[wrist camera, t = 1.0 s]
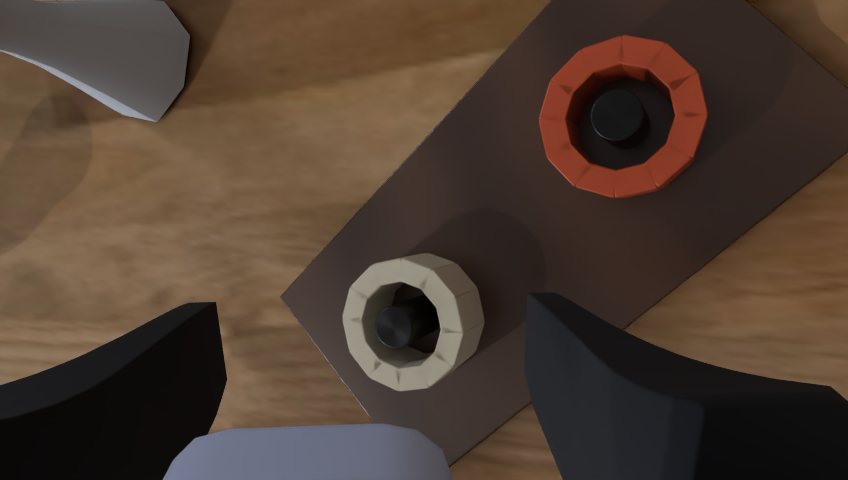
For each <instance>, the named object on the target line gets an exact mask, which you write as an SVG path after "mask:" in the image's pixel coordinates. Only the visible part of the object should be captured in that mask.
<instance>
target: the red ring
mask: <svg viewBox="0 0 848 480" xmlns="http://www.w3.org/2000/svg"><path fill="white" fill-rule="evenodd" d="M628 78H629V79H633V80H638V81H643V82H648V83H653V84H654V85H655V86H656V87H657V88H658V89H659V90H660V91H661V92H663V93H664V94H665V95H666V96H667V97H668V98H669V99H670V100H671V102H672V107H673V111H674V115H675V118H674V121H673V124H672V127H671V130H670V132H669V135H668V138H667V141H666V144H664V145H663V146H662V147H661V148H660V149H659V150H658V151H657V152H656V153H654V154H653V155H652V156H651V157H650V158H649V159H648V160H647V161H646V162H644V163H642V164H638V165H634V166H630V167H626V168H622V169H618V170H615V169H611V168H607V167H604V166H600V165H598V164H597V163H596V162H595V161H594V160H593V159H592V158H591V157H590V156H589V155H588V154H587V153H586V152H585V151H584V150H583V145H582V141H581V137H580V132H579V128H578V126H579V123H580V120H581V117H582V114H583V110H584V107H585V104H586V103H587V102H588V101H589V100H590V99H591V98H592V97H593V96H594V95H595V94H596V93H597V92H598V91H599V90H600V89H601V88H602V87H603V86H605V85H608V84H611V83H615V82H618V81H621V80H624V79H628ZM707 118H708V110H707V106H706V102H705V98H704V93H703V89H702V85H701V81H700V76H699V73H697V70H696V69H695V68H694V67H693V66H692V65H691V64H690V63H688V62H687V61H686V60H685V59H684V58H683V57H682V56H681V55H680V54H679V53H678V52H676V51H675V50H674V49H673V48H672V47H671V46H670V45H669V44H668V43H666V44H665V42H662V41H657V40H651V39H646V38H640V37H635V36H629V35H623V36H617V37H614V38H611V39H608V40H605V41H602V42H600V43H597V44H594V45H591V46H588V47H585V48H583V49H582V50H579V51H578V52H577V53H576V54H575V55H574V56H573V57H572V58H571V59H570V60H569V61H568V62H567V63H566V64H565V65H564V66H563V67H562V68H561V69H560V70H559V71H558V72H557V73H556V75H555V76H554V77H553V78H552V79H551V81H550V82H549V86H548V89H547V92H546V96H545V99H544V102H543V106H542V109H541V112H540V116H539V119H540V120H539V125H540V130H541V134H542V139H543V143H544V147H545V152H546V156H547V158H548V160H549V161H550V162H551V163H552V164H553V165H554V166H555V167H556V168H557V169H558V171H559V172H560V173H561V174H562V175H563V176H564V177H565V178H566V179H567V180H568V181H569V182H570V183H571V184H572V185H573V186H576V187H577V188H579V189H583V190H586V191H590V192H593V193H597V194H600V195H604V196H607V197H611V198H629V197H633V196H637V195H642V194H646V193H651V192H655V191H659V190H660V189H663V188H664V187H666V186H667V185H668V184H669V183H670V182H671V181H672V180H674V179H675V178H676V177H677V176H678V175H679V174H681V173H682V172H683V171H684V170H685V169H686V168H687V167H689V166H690V165H691V163H692V162H693V161H694V158H695V155H696V153H697V150H698V147H699V144H700V141H701V138H702V135H703V133H704V130H705V127H706V123H707Z"/></svg>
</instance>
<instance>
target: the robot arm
mask: <svg viewBox="0 0 848 480" xmlns="http://www.w3.org/2000/svg"><path fill="white" fill-rule="evenodd" d="M524 371H525V376H526V380H527V384H528V389H529V393H530V397H531V401H532V404H533V407H534V410H535V412H536V415H537V417H538V420H539V422H540V425H541V427H542V430H543V432H544V435H545V437H546V439H547V442H548V444H549V447H550V449H551V452H552V454H553V456H554V459H555V461H556V464H557V466H558V469H559V471H560V474H561V476H562V478H563V480H848V401H847V400H846V399H845V398H843V397H842V396H841V395H840V394H839V393H838V392H836V391H835V390H834V389H833V388H832V387H830V386H824V385H816V384H809V383H801V382H794V381H786V380H779V379H772V378H767V377H762V376H757V375H752V374H747V373H742V372H738V371H734V370H729V369H725V368H721V367H717V366H714V365H711V364H707V363H704V362H700V361H697V360H694V359H690V358H687V357H684V356H681V355H679V354H676V353H673V352H671V351H668V350H666V349H663V348H660V347H658V346H655V345H653V344H650V343H648V342H646V341H644V340H641V339H639V338H637V337H635V336H633V335H631V334H629V333H627V332H625V331H623V330H621V329H619V328H617V327H615V326H614V325H612V324H610V323H608V322H606V321H605V320H603V319H601V318H599V317H598V316H596V315H594V314H592V313H591V312H589V311H587V310H586V309H584V308H582V307H581V306H579V305H577V304H576V303H574V302H572V301H571V300H569V299H567V298H565V297H563V296H562V295H560V294H557V293H555V292H541V293H528V300H527V320H526V340H525V361H524ZM226 382H227V375H226V368H225V362H224V355H223V348H222V341H221V334H220V327H219V320H218V313H217V306H216V302H201V303H187V304H184V305H182V306H179V307H177V308H175V309H173V310H171V311H169V312H167V313H165V314H163V315H161V316H159V317H157V318H155V319H153V320H151V321H149V322H148V323H146V324H144V325H142V326H140V327H138V328H136V329H134V330H132V331H131V332H129V333H127V334H125V335H123V336H121V337H119V338H117V339H115V340H113V341H111V342H109V343H107V344H105V345H103V346H100V347H98V348H96V349H94V350H92V351H90V352H88V353H86V354H84V355H82V356H79V357H77V358H75V359H72V360H70V361H68V362H65V363H63V364H60V365H58V366H55V367H53V368H50V369H48V370H45V371H42V372H40V373H37V374H34V375H31V376H28V377H25V378H22V379H19V380H16V381H13V382H9V383H6V384H3V385H0V480H452V476H451V473H450V470H449V467H448V464H447V461H446V458H445V455H444V452H443V450H442V449H441V448H440V447H439V446H437V445H436V444H435V443H434V442H432V441H431V440H430V439H428V438H427V437H426V436H425V435H423V434H422V433H421V432H420V431H418V430H416V429H410V428H405V427H399V426H394V425H389V424H383V423H379V424H351V425H324V426H296V427H268V428H241V429H227V430H223V431H220V432H216V433H212V434H208V432H209V430H210V428H211V426H212V424H213V421H214V419H215V417H216V415H217V411H218V408H219V405H220V402H221V399H222V396H223V392H224V389H225V385H226ZM207 434H208V435H207Z"/></svg>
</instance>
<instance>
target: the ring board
mask: <svg viewBox="0 0 848 480" xmlns="http://www.w3.org/2000/svg"><path fill="white" fill-rule="evenodd" d="M623 35H629V36H635V37H640V38H646V39H651V40H657V41H662V42H665V44H666V43H668V44H669V45H670V46H671V47H672V48H673V49H674V50H675V51H676V52H678V53H679V54H680V55H681V56H682V57H683V58H684V59H685V60H686V61H687V62H688V63H690V64H691V65H692V66H693V67H694V68H695V69H696V70H697V73H699V76H700V81H701V85H702V89H703V93H704V98H705V102H706V106H707V110H708V118H707V123H706V127H705V130H704V133H703V135H702V138H701V141H700V144H699V147H698V150H697V153H696V155H695V158H694V161H693V162H692V163H691V165H690V166H689V167H687V168H686V169H685V170H684V171H683V172H682V173H681V174H679V175H678V176H677V177H676V178H675V179H674V180H672V181H671V182H670V183H669V184H668V185H667V186H666V187H664V188H663V189H660V190H659V191H655V192H651V193H646V194H642V195H637V196H633V197H629V198H611V197H607V196H604V195H600V194H597V193H593V192H590V191H586V190H583V189H579V188H577V187H576V186H573V185H572V184H571V183H570V182H569V181H568V180H567V179H566V178H565V177H564V176H563V175H562V174H561V173H560V172H559V171H558V169H557V168H556V167H555V166H554V165H553V164H552V163H551V162H550V161H549V160H548V158H547V156H546V152H545V147H544V143H543V139H542V134H541V130H540V125H539V120H540V119H539V116H540V112H541V109H542V106H543V102H544V99H545V96H546V92H547V89H548V86H549V82H550V81H551V79H552V78H553V77H554V76H555V75H556V73H557V72H558V71H559V70H560V69H561V68H562V67H563V66H564V65H565V64H566V63H567V62H568V61H569V60H570V59H571V58H572V57H573V56H574V55H575V54H576V53H577V52H578V51H579V50H582V49H583V48H585V47H588V46H591V45H594V44H597V43H600V42H602V41H605V40H608V39H611V38H614V37H617V36H623ZM674 118H675V115H674V111H673V107H672V102H671V100H670V99H669V98H668V97H667V96H666V95H665V94H664V93H663V92H661V91H660V90H659V89H658V88H657V87H656V86H655V85H654V84H653V83H648V82H643V81H638V80H633V79H629V78H628V79H624V80H621V81H618V82H615V83H611V84H608V85H605V86H603V87H602V88H601V89H600V90H599V91H598V92H597V93H596V94H595V95H594V96H593V97H592V98H591V99H590V100H589V101H588V102H587V103H586V104H585V107H584V110H583V114H582V117H581V120H580V123H579V126H578V128H579V132H580V137H581V141H582V145H583V150H584V151H585V152H586V153H587V154H588V155H589V156H590V157H591V158H592V159H593V160H594V161H595V162H596V163H597V164H598V165H600V166H604V167H607V168H611V169H615V170H618V169H622V168H626V167H630V166H634V165H638V164H642V163H644V162H646V161H647V160H648V159H649V158H650V157H651V156H652V155H653V154H654V153H656V152H657V151H658V150H659V149H660V148H661V147H662V146H663V145H664V144H666V141H667V138H668V135H669V132H670V130H671V127H672V124H673V121H674ZM846 152H848V87H846V86H845V85H844V84H843V83H842V82H841V81H840V80H838V79H837V78H836V77H835V76H834V75H833V74H831V73H830V72H829V71H828V70H827V69H826V68H824V67H823V66H822V65H821V64H820V63H819V62H817V61H816V60H815V59H814V58H813V57H812V56H810V55H809V54H808V53H807V52H806V51H805V50H803V49H802V48H801V47H800V46H799V45H798V44H797V43H795V42H794V41H793V40H792V39H791V38H790V37H788V36H787V35H786V34H785V33H784V32H783V31H781V30H780V29H779V28H778V27H777V26H776V25H774V24H773V23H772V22H771V21H770V20H769V19H767V18H766V17H765V16H764V15H763V14H762V13H760V12H759V11H758V10H757V9H756V8H755V7H754V6H752V5H751V4H750V3H749V2H748V1H747V0H551V2H550V3H549V4H548V5H547V6H546V7H545V8H544V9H543V10H542V11H541V12H540V14H539V15H538V16H537V17H536V18H535V19H534V20H533V21H532V22H531V23H530V24H529V26H528V27H527V28H526V29H525V30H524V31H523V32H522V33H521V34H520V35H519V36H518V38H517V39H516V40H515V41H514V42H513V43H512V44H511V45H510V46H509V47H508V48H507V50H506V51H505V52H504V53H503V54H502V55H501V56H500V57H499V58H498V59H497V60H496V62H495V63H494V64H493V65H492V66H491V67H490V68H489V69H488V70H487V71H486V72H485V74H484V75H483V76H482V77H481V78H480V79H479V80H478V81H477V82H476V83H475V84H474V86H473V87H472V88H471V89H470V90H469V91H468V92H467V93H466V94H465V95H464V97H463V98H462V99H461V100H460V101H459V102H458V103H457V104H456V105H455V106H454V107H453V109H452V110H451V111H450V112H449V113H448V114H447V115H446V116H445V117H444V118H443V119H442V121H441V122H440V123H439V124H438V125H437V126H436V127H435V128H434V129H433V130H432V131H431V133H430V134H429V135H428V136H427V137H426V138H425V139H424V140H423V141H422V142H421V143H420V145H419V146H418V147H417V148H416V149H415V150H414V151H413V152H412V153H411V154H410V155H409V157H408V158H407V159H406V160H405V161H404V162H403V163H402V164H401V165H400V166H399V167H398V169H397V170H396V171H395V172H394V173H393V174H392V175H391V176H390V177H389V178H388V179H387V181H386V182H385V183H384V184H383V185H382V186H381V187H380V188H379V189H378V190H377V191H376V193H375V194H374V195H373V196H372V197H371V198H370V199H369V200H368V201H367V202H366V203H365V205H364V206H363V207H362V208H361V209H360V210H359V211H358V212H357V213H356V214H355V216H354V217H353V218H352V219H351V220H350V221H349V222H348V223H347V224H346V225H345V226H344V228H343V229H342V230H341V231H340V232H339V233H338V234H337V235H336V236H335V237H334V238H333V240H332V241H331V242H330V243H329V244H328V245H327V246H326V247H325V248H324V249H323V250H322V252H321V253H320V254H319V255H318V256H317V257H316V258H315V259H314V260H313V261H312V262H311V264H310V265H309V266H308V267H307V268H306V269H305V270H304V271H303V272H302V273H301V274H300V276H299V277H298V278H297V279H296V280H295V281H294V282H293V283H292V284H291V285H290V286H289V288H288V289H287V290H286V291H285V292H284V293H283V294H282V295H281V296H280V298H281V299H282V301H283V302H284V303H285V305H286V306H287V307H288V309H289V310H290V311H291V313H292V314H293V315H294V317H295V318H296V319H297V321H298V322H299V323H300V325H301V326H302V327H303V329H304V330H305V331H306V333H307V334H308V336H309V337H310V338H311V340H312V341H313V342H314V344H315V345H316V346H317V348H318V349H319V350H320V352H321V353H322V354H323V356H324V357H325V358H326V360H327V361H328V362H329V364H330V365H331V366H332V368H333V369H334V370H335V372H336V373H337V374H338V376H339V377H340V378H341V380H342V381H343V382H344V384H345V385H346V387H347V388H348V389H349V391H350V392H351V393H352V395H353V396H354V397H355V399H356V400H357V401H358V403H359V404H360V405H361V407H362V408H363V409H364V411H365V412H366V413H367V415H368V416H369V417H370V419H371V420H372V421H373V423H374V424H379V423H383V424H389V425H394V426H399V427H405V428H410V429H416V430H418V431H420V432H421V433H422V434H423V435H425V436H426V437H427V438H428V439H430V440H431V441H432V442H434V443H435V444H436V445H437V446H439V447H440V448H441V449H442V450H443V452H444V455H445V458H446V461H447V464H448V467H450V466H451V465H452V464H453V463H455V462H456V461H457V460H459V459H460V458H461V457H462V456H464V455H465V454H466V453H467V452H469V451H470V450H471V449H472V448H474V447H475V446H476V445H477V444H479V443H480V442H481V441H483V440H484V439H485V438H486V437H488V436H489V435H490V434H491V433H493V432H494V431H495V430H496V429H498V428H499V427H500V426H501V425H503V424H504V423H505V422H507V421H508V420H509V419H510V418H512V417H513V416H514V415H515V414H517V413H518V412H519V411H520V410H522V409H523V408H524V407H525V406H527V405H528V404H529V403H531V402H532V401H531V397H530V393H529V389H528V384H527V380H526V376H525V371H524V361H525V340H526V320H527V300H528V293H541V292H555V293H557V294H560V295H562V296H563V297H565V298H567V299H569V300H571V301H572V302H574V303H576V304H577V305H579V306H581V307H582V308H584V309H586V310H587V311H589V312H591V313H592V314H594V315H596V316H598V317H599V318H601V319H603V320H605V321H606V322H608V323H610V324H612V325H614V326H615V327H617V328H619V329H621V330H623V329H624V328H625V327H627V326H628V325H629V324H630V323H632V322H633V321H634V320H635V319H637V318H638V317H639V316H640V315H642V314H643V313H644V312H646V311H647V310H648V309H649V308H651V307H652V306H653V305H654V304H656V303H657V302H658V301H659V300H661V299H662V298H663V297H664V296H666V295H667V294H668V293H670V292H671V291H672V290H673V289H675V288H676V287H677V286H678V285H680V284H681V283H682V282H683V281H685V280H686V279H687V278H688V277H690V276H691V275H692V274H694V273H695V272H696V271H697V270H699V269H700V268H701V267H702V266H704V265H705V264H706V263H707V262H709V261H710V260H711V259H712V258H714V257H715V256H716V255H718V254H719V253H720V252H721V251H723V250H724V249H725V248H726V247H728V246H729V245H730V244H731V243H733V242H734V241H735V240H736V239H738V238H739V237H740V236H742V235H743V234H744V233H745V232H747V231H748V230H749V229H750V228H752V227H753V226H754V225H755V224H757V223H758V222H759V221H760V220H762V219H763V218H764V217H766V216H767V215H768V214H769V213H771V212H772V211H773V210H774V209H776V208H777V207H778V206H779V205H781V204H782V203H783V202H784V201H786V200H787V199H788V198H790V197H791V196H792V195H793V194H795V193H796V192H797V191H798V190H800V189H801V188H802V187H803V186H805V185H806V184H807V183H808V182H810V181H811V180H812V179H814V178H815V177H816V176H817V175H819V174H820V173H821V172H822V171H824V170H825V169H826V168H827V167H829V166H830V165H831V164H832V163H834V162H835V161H836V160H838V159H839V158H840V157H841V156H843V155H844V154H845V153H846ZM422 253H430V254H433V255H436V256H438V257H441V258H444V259H447V260H449V261H452V262H455V263H456V264H458V265H459V266H460V268H461V269H462V270H463V271H464V272H465V273H466V275H467V276H468V277H469V278H470V279H471V281H472V282H473V283H474V284H475V285H476V286H477V289H478V292H479V296H480V301H481V305H482V310H483V315H484V321H485V323H484V326H483V330H482V333H481V336H480V340H479V343H478V346H477V350H476V351H475V352H474V354H473V355H471V356H470V357H469V358H468V359H467V360H466V361H465V362H463V363H462V364H461V365H460V366H459V367H458V368H457V369H455V370H454V371H453V372H451V373H450V374H449V375H447V376H446V377H444V378H443V379H442V380H440V381H439V382H437V383H436V384H435V385H433V386H431V387H429V388H425V389H417V390H408V391H396V390H394V389H392V388H390V387H388V386H386V385H384V384H382V383H380V382H377V381H375V380H373V379H371V378H370V377H368V376H367V374H366V373H365V372H364V370H363V369H362V368H361V366H360V365H359V364H358V362H357V361H356V360H355V358H354V357H353V356H352V354H351V353H350V352H349V351H350V350H349V348H348V343H347V338H346V334H345V329H344V324H343V317H342V316H343V312H344V308H345V304H346V300H347V296H348V293H349V289H350V287H351V286H352V284H353V283H354V282H355V281H356V280H357V279H358V278H359V277H360V276H361V275H362V274H363V273H364V272H365V271H366V270H367V269H368V268H369V267H370V266H371V265H373V264H375V263H379V262H384V261H388V260H393V259H397V258H402V257H407V256H412V255H417V254H422ZM375 330H376V334H377V336H378V338H379V340H380V341H381V342H382V343H383V344H384V345H385V346H387V347H389V348H393V349H400V348H403V347H405V346H409V347H411V348H413V349H416V350H418V351H420V352H423V353H431V352H435V349H436V345H437V342H438V338H439V335H440V331H441V328H440V323H439V318H438V314H437V309H436V307H435V306H434V304H433V303H432V302H431V301H430V300H429V298H428V297H427V296H426V295H425V294H424V292H423V291H422V290H421V289H419V288H417V287H414V286H412V285H409V284H406V283H403V284H402V285H401V286H400V287H399V288H398V289H397V290H396V291H395V295H394V299H393V302H392V306H389V307H386V308H384V309H383V310H382V311H381V312H380V313H379V314H378V316H377V318H376V322H375Z"/></svg>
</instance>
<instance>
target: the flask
mask: <svg viewBox="0 0 848 480" xmlns="http://www.w3.org/2000/svg"><path fill="white" fill-rule="evenodd" d="M189 41H190V35H189V34H188V32H187V31H186V30H185V28H184V27H183V26H182V24H181V23H180V22H179V20H178V19H177V18H176V16H175V15H174V14H173V12H172V11H171V10H170V8H169V7H168V6H167V4H166V3H165V2H164V1H155V0H84V1H42V2H40V1H33V0H0V51H2V52H5V53H8V54H10V55H13V56H15V57H18V58H20V59H23V60H26V61H28V62H31V63H33V64H36V65H38V66H40V67H41V68H43V69H45V70H47V71H49V72H50V73H52V74H54V75H56V76H58V77H59V78H61V79H63V80H65V81H67V82H68V83H70V84H72V85H74V86H75V87H77V88H79V89H81V90H82V91H84V92H86V93H87V94H89V95H91V96H92V97H94V98H95V99H97V100H99V101H100V102H102V103H104V104H105V105H107V106H109V107H110V108H112V109H114V110H115V111H117V112H119V113H121V114H123V115H126V116H130V117H135V118H140V119H145V120H149V121H154V122H158V121H159V119H160V118H161V117H162V115H163V114H164V113H165V111H166V110H167V109H168V107H169V106H170V105H171V103H172V102H173V101H174V99H175V98H176V96H177V95H178V94H179V92H180V91H181V90H182V88H183V87H184V81H185V73H186V65H187V57H188V49H189Z"/></svg>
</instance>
